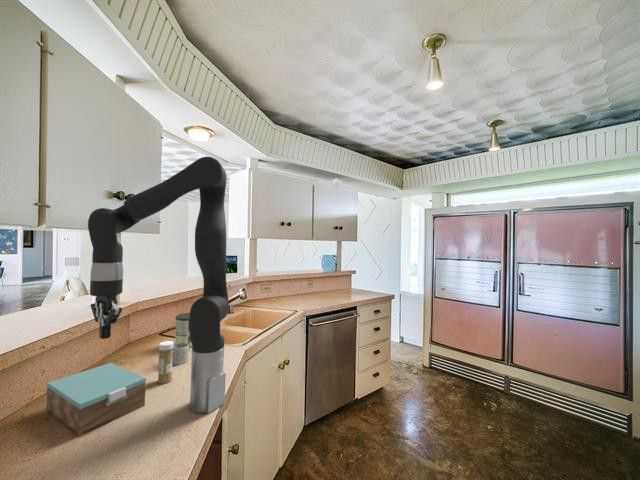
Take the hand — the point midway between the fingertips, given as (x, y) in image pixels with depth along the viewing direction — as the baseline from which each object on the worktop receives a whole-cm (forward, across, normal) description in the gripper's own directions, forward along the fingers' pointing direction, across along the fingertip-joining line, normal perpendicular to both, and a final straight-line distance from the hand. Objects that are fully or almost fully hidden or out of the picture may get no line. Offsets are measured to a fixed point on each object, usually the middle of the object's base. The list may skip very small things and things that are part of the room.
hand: (104, 337), depth 81 cm
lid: (+15, +2, 0) cm, 15 cm away
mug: (+21, +12, -31) cm, 39 cm away
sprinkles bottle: (+21, +2, -20) cm, 29 cm away
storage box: (+21, +3, 0) cm, 21 cm away
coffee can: (+21, +26, -46) cm, 57 cm away
